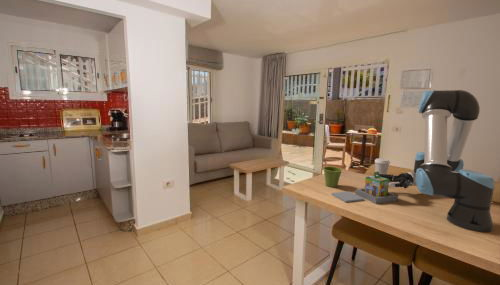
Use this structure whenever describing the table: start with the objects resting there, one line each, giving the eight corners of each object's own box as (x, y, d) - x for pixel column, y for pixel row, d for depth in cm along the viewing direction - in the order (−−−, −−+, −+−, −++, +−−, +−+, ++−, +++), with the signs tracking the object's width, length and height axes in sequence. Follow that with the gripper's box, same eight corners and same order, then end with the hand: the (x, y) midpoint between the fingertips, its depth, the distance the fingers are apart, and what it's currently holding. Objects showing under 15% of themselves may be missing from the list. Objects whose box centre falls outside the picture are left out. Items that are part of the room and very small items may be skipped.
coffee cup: (390, 182, 164) (392, 161, 162) (375, 181, 165) (377, 160, 163) (384, 178, 173) (387, 158, 171) (370, 177, 175) (372, 157, 172)
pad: (364, 200, 131) (364, 198, 131) (345, 202, 127) (345, 200, 127) (348, 192, 142) (349, 191, 142) (331, 194, 139) (331, 192, 138)
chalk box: (379, 201, 129) (381, 175, 127) (363, 196, 137) (365, 171, 135) (388, 198, 134) (391, 173, 132) (372, 193, 142) (374, 169, 140)
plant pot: (318, 185, 155) (319, 168, 154) (328, 181, 163) (329, 165, 161) (335, 190, 147) (336, 172, 145) (344, 186, 154) (346, 169, 153)
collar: (397, 201, 131) (398, 195, 130) (375, 203, 126) (376, 198, 126) (375, 191, 145) (376, 187, 145) (355, 193, 141) (355, 189, 140)
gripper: (428, 192, 131) (398, 195, 125) (389, 179, 154) (362, 181, 148) (429, 179, 130) (399, 181, 123) (390, 167, 153) (363, 169, 147)
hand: (379, 181), depth 136 cm, fingers open, 13 cm apart
